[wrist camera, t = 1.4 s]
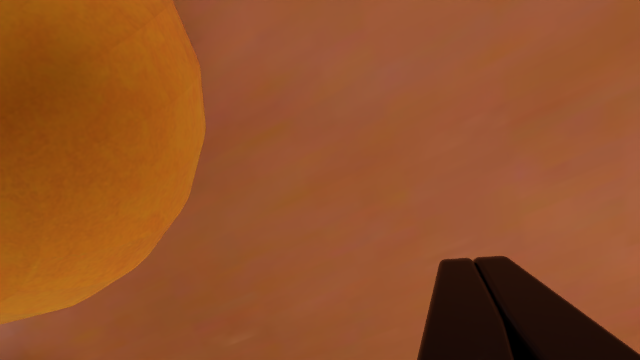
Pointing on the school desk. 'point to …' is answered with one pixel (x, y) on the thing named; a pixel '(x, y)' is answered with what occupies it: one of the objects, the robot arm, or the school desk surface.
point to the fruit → (90, 143)
